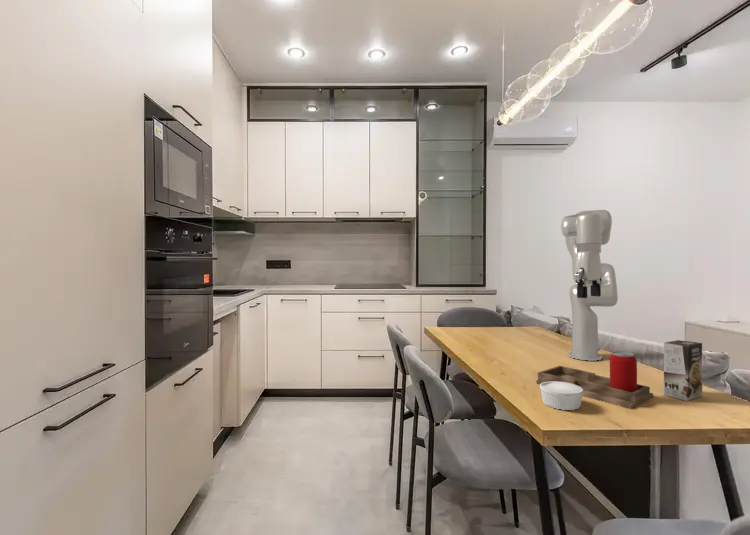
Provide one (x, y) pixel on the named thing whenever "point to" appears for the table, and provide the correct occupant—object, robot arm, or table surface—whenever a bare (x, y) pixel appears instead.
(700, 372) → the coffee box
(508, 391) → the table surface
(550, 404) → the ramekin
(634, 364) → the beverage can
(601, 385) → the brown wooden tray
